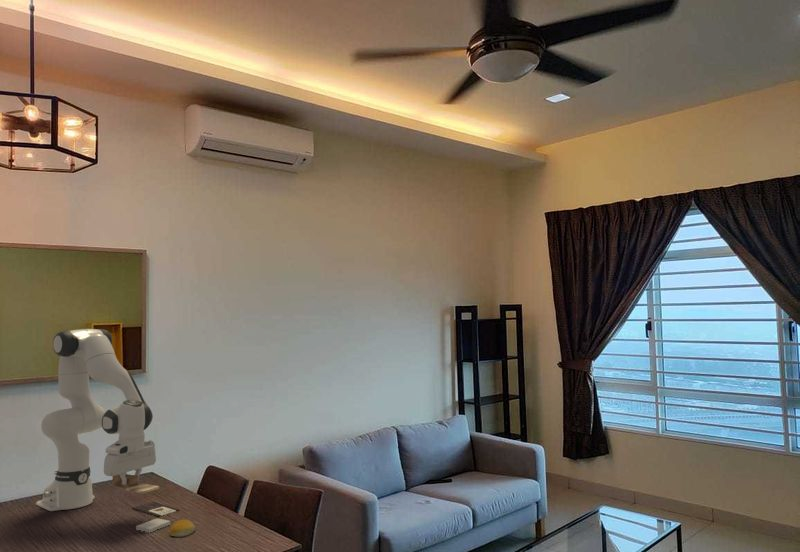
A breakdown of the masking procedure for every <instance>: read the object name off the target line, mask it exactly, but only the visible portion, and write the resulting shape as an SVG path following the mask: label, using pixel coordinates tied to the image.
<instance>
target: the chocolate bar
mask: <svg viewBox="0 0 800 552" xmlns="http://www.w3.org/2000/svg"><path fill="white" fill-rule="evenodd" d="M134 509H135V511H138V512H140V511H141V512H140V513H143V512H144V514H146V513H147V514H146V515H149V514H150V516H152V515H153V517H156V518H161V517H164V516H168V515H171V514H174V513H177V512H176V511H178V512H180V509H179V508H176V507H172V506H168V505H166V504H162V503H158V502H156V501H151V502H148V503H145V504H140V505H136V506H134V507H132V510H134ZM173 512H174V513H173ZM170 513H171V514H170ZM167 514H168V515H167ZM163 515H164V516H163ZM160 516H161V517H160Z"/></svg>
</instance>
